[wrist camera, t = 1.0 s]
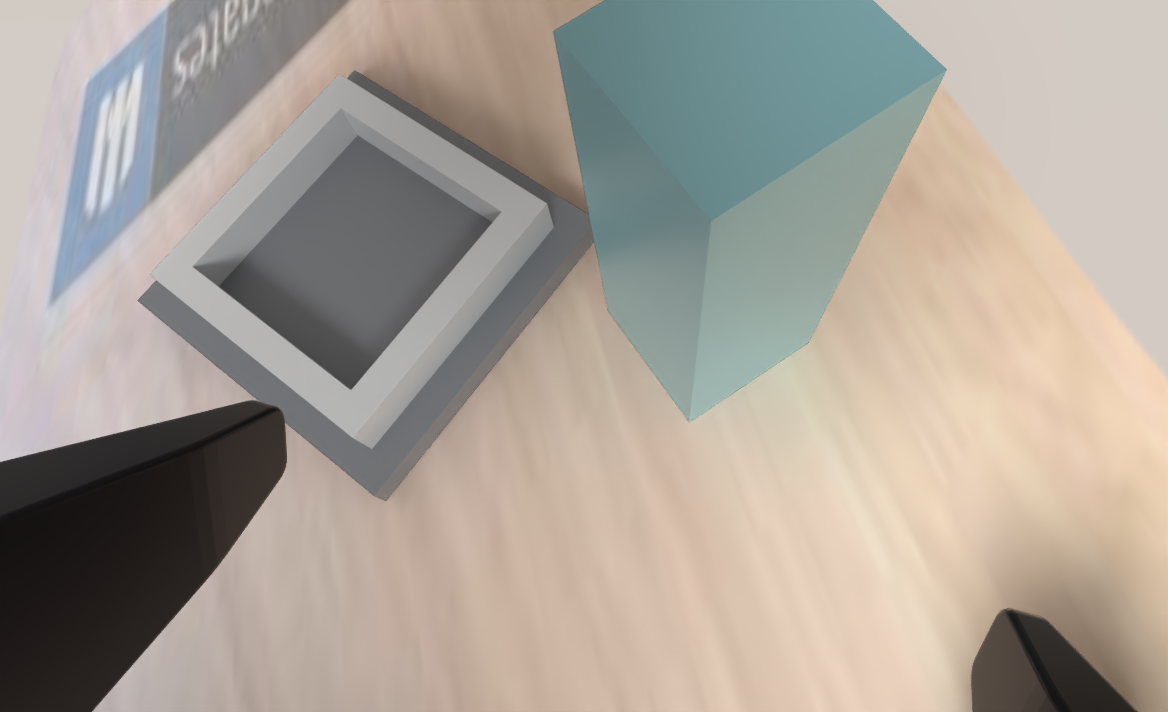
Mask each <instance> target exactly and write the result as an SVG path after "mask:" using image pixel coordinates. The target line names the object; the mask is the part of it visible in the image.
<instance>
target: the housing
mask: <svg viewBox="0 0 1168 712" xmlns="http://www.w3.org/2000/svg"><path fill="white" fill-rule="evenodd" d="M553 33H554V38H555V43H556V48H557V53H558V58H559V64H560V69H561V74H562V79H563V84H564V89H565V94H566V99H567V104H568V110H569V115H570V120H571V125H572V130H573V135H574V140H575V145H576V150H577V156H578V161H579V166H580V171H581V176H582V181H583V186H584V191H585V197H586V202H587V207H588V212H589V217H590V222H591V227H592V232H593V237H594V243H595V248H596V253H597V258H598V263H599V268H600V273H601V278H602V283H603V289H604V294H605V299H606V304H607V309H608V312H609V313H610V315H611V316H612V317H613V319H614V320H615V321H616V323H617V324H618V325H619V327H620V328H621V330H622V331H623V332H624V334H625V335H626V336H627V338H628V339H629V341H630V342H631V343H632V345H633V346H634V347H635V349H636V350H637V352H638V353H639V354H640V356H641V357H642V358H643V360H644V361H645V362H646V364H647V365H648V367H649V368H650V369H651V371H652V372H653V373H654V375H655V376H656V378H657V379H658V380H659V382H660V383H661V384H662V386H663V387H664V388H665V390H666V391H667V393H668V394H669V395H670V397H671V398H672V399H673V401H674V402H675V404H676V405H677V406H678V408H679V409H680V410H681V412H682V413H683V414H684V416H685V417H686V419H687V420H688V421H689V422H691V421H692V420H694V419H695V418H697V417H698V416H700V415H701V414H703V413H704V412H706V411H707V410H709V409H710V408H712V407H713V406H715V405H716V404H718V403H719V402H721V401H722V400H724V399H725V398H727V397H728V396H730V395H731V394H733V393H734V392H736V391H737V390H739V389H740V388H742V387H743V386H745V385H746V384H748V383H749V382H751V381H752V380H754V379H755V378H757V377H758V376H760V375H761V374H762V373H764V372H765V371H767V370H768V369H770V368H771V367H773V366H774V365H776V364H777V363H779V362H780V361H782V360H783V359H785V358H786V357H788V356H789V355H791V354H792V353H794V352H795V351H797V350H798V349H800V348H801V347H803V346H804V345H806V344H807V343H809V341H810V339H811V337H812V335H813V333H814V331H815V329H816V327H817V325H818V323H819V321H820V319H821V317H822V315H823V313H824V311H825V309H826V307H827V305H828V303H829V301H830V299H831V297H832V295H833V293H834V291H835V289H836V287H837V285H838V283H839V282H840V280H841V278H842V276H843V274H844V272H845V270H846V268H847V266H848V264H849V262H850V260H851V258H852V256H853V254H854V252H855V250H856V248H857V246H858V244H859V242H860V240H861V238H862V236H863V234H864V232H865V230H866V228H867V226H868V224H869V222H870V220H871V218H872V216H873V214H874V212H875V210H876V208H877V207H878V205H879V203H880V201H881V199H882V197H883V195H884V193H885V191H886V189H887V187H888V185H889V183H890V181H891V179H892V177H893V175H894V173H895V171H896V169H897V167H898V165H899V163H900V161H901V159H902V157H903V155H904V153H905V151H906V149H907V147H908V145H909V143H910V141H911V139H912V137H913V135H914V133H915V132H916V130H917V128H918V126H919V124H920V122H921V120H922V118H923V116H924V114H925V112H926V110H927V108H928V106H929V104H930V102H931V100H932V98H933V96H934V94H935V92H936V90H937V88H938V86H939V84H940V82H941V80H942V78H943V76H944V74H945V72H946V68H945V67H944V66H942V65H941V64H940V63H939V62H938V61H937V60H936V59H935V58H934V57H933V56H932V55H931V54H930V53H929V52H928V51H926V50H925V49H924V48H923V47H922V46H921V45H920V44H919V43H918V42H917V41H916V40H914V38H913V37H912V36H910V35H909V34H908V33H907V32H906V31H905V30H904V29H903V28H902V27H901V26H900V25H899V24H898V23H897V22H895V21H894V20H893V19H892V18H891V17H890V16H889V15H888V14H887V13H886V12H885V11H884V10H883V9H882V8H881V7H879V6H878V5H877V4H876V3H875V2H874V1H873V0H604V1H603V2H601V3H599V4H598V5H596V6H594V7H593V8H591V9H589V10H588V11H586V12H584V13H583V14H581V15H579V16H578V17H576V18H574V19H573V20H571V21H569V22H568V23H566V24H564V25H563V26H561V27H559V28H558V29H556V30H554V31H553Z"/></svg>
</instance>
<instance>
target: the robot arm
mask: <svg viewBox="0 0 1168 712" xmlns="http://www.w3.org/2000/svg"><path fill="white" fill-rule="evenodd" d="M286 463H287V448H286V432H285V418H284V414H283V412H282V410H281V409H280V408H278V407H277V406H273V405H269V404H266V403H262V402H259V401H251V400H250V401H245V402H241V403H237V404H233V405H229V406H225V407H221V408H217V409H213V410H209V411H205V412H201V413H197V414H193V415H189V416H185V417H181V418H177V419H173V420H169V421H164V422H160V423H156V424H152V425H148V426H144V427H140V428H136V429H132V430H128V431H124V432H120V433H116V434H112V435H108V436H104V437H100V438H96V439H92V440H88V441H84V442H80V443H75V444H71V445H67V446H63V447H59V448H55V449H51V450H47V451H43V452H39V453H35V454H31V455H27V456H23V457H19V458H15V459H11V460H7V461H3V462H0V712H92V711H93V710H94V709H95V708H96V706H97V705H98V704H99V703H100V702H101V701H102V700H103V698H104V697H105V696H106V695H107V694H108V693H109V692H110V690H111V689H112V688H113V687H114V686H115V685H116V684H117V682H118V681H119V680H120V679H121V678H122V677H123V675H124V674H125V673H126V672H127V671H128V670H129V669H130V667H131V666H132V665H133V664H134V663H135V662H136V661H137V659H138V658H139V657H140V656H141V655H142V654H143V652H144V651H145V650H146V649H147V648H148V647H149V646H150V644H151V643H152V642H153V641H154V640H155V639H156V638H157V636H158V635H159V634H160V633H161V632H162V631H163V630H164V628H165V627H166V626H167V625H168V624H169V623H170V621H171V620H172V619H173V618H174V617H175V616H176V615H177V613H178V612H179V611H180V610H181V609H182V608H183V607H184V605H185V604H186V603H187V602H188V601H189V600H190V599H191V597H192V596H193V595H194V594H195V593H196V592H197V590H198V589H199V588H200V587H201V586H202V585H203V584H204V582H205V581H206V580H207V579H208V578H209V576H210V575H211V574H212V573H213V572H214V570H215V569H216V568H217V567H218V565H219V564H220V563H221V561H222V560H223V559H224V557H225V556H226V555H227V553H228V552H229V551H230V549H231V548H232V547H233V545H234V544H235V542H236V541H237V539H238V538H239V537H240V535H241V534H242V532H243V531H244V530H245V528H246V527H247V525H248V524H249V522H250V521H251V520H252V518H253V517H254V515H255V514H256V513H257V511H258V510H259V508H260V507H261V505H262V504H263V503H264V501H265V500H266V498H267V497H268V496H269V494H270V493H271V491H272V490H273V488H274V487H275V486H276V484H277V483H278V481H279V480H280V478H281V477H282V475H283V473H284V471H285V468H286ZM971 689H972V710H973V712H1137V711H1136V710H1135V709H1134V708H1133V707H1132V706H1131V705H1130V704H1129V703H1128V702H1127V700H1126V699H1125V698H1124V697H1123V696H1122V695H1121V694H1120V693H1119V692H1118V691H1117V690H1116V689H1115V688H1114V687H1113V686H1112V685H1111V684H1110V683H1109V682H1108V681H1107V680H1106V679H1105V678H1104V677H1103V676H1102V675H1101V674H1100V673H1099V672H1098V671H1097V670H1096V669H1095V668H1094V667H1093V666H1092V665H1091V664H1090V663H1089V662H1088V661H1087V660H1086V659H1085V658H1084V657H1083V656H1082V655H1081V654H1080V653H1079V652H1078V651H1077V650H1076V649H1075V648H1074V647H1073V646H1072V645H1071V644H1070V643H1069V642H1068V641H1067V640H1066V639H1065V638H1064V637H1063V636H1062V635H1061V634H1060V633H1059V632H1058V631H1057V630H1056V629H1055V628H1054V627H1053V626H1052V625H1051V624H1050V623H1049V622H1048V621H1047V620H1046V619H1044V618H1042V617H1040V616H1037V615H1033V614H1030V613H1026V612H1022V611H1019V610H1015V609H1011V608H1007V609H1003V610H1001V611H1000V612H999V613H998V615H997V616H996V618H995V620H994V622H993V624H992V626H991V628H990V630H989V632H988V634H987V636H986V638H985V640H984V641H983V643H982V645H981V647H980V649H979V651H978V653H977V655H976V657H975V660H974V663H973V667H972V674H971Z"/></svg>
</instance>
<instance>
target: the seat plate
mask: <svg viewBox="0 0 1168 712" xmlns="http://www.w3.org/2000/svg"><path fill="white" fill-rule="evenodd" d="M593 242H594V237H593V232H592V227H591V222H590V217H589V214H587V213H585V212H584V211H582V210H580V209H579V208H577V207H576V206H574V205H572V204H571V203H569V202H567V201H566V200H564V199H563V198H561V197H559V196H558V195H556V194H555V193H553V192H551V191H550V190H548V189H546V188H545V187H543V186H542V185H540V184H538V183H537V182H535V181H533V180H532V179H530V178H529V177H527V176H525V175H524V174H522V173H520V172H519V171H517V170H516V169H514V168H512V167H511V166H509V165H508V164H506V163H504V162H503V161H501V160H499V159H498V158H496V157H495V156H493V155H491V154H490V153H488V152H486V151H485V150H483V149H482V148H480V147H478V146H477V145H475V144H474V143H472V142H470V141H469V140H467V139H465V138H464V137H462V136H461V135H459V134H457V133H456V132H454V131H452V130H451V129H449V128H448V127H446V126H444V125H443V124H441V123H440V122H438V121H436V120H435V119H433V118H431V117H430V116H428V115H427V114H425V113H423V112H422V111H420V110H418V109H417V108H415V107H414V106H412V105H410V104H409V103H407V102H406V101H404V100H402V99H401V98H399V97H397V96H396V95H394V94H393V93H391V92H389V91H388V90H386V89H384V88H383V87H381V86H380V85H378V84H376V83H375V82H373V81H372V80H370V79H368V78H367V77H365V76H363V75H362V74H360V73H359V72H357V71H355V70H354V72H353V73H352V74H351V75H350V76H349V77H348V78H345V77H344V76H342V75H340V74H339V75H338V76H337V77H336V78H335V79H334V80H333V81H332V82H331V83H330V84H329V85H328V86H327V87H326V88H325V89H324V90H323V91H322V92H321V94H320V95H319V96H318V97H317V98H316V99H315V100H314V101H313V102H312V103H311V104H310V105H309V106H308V107H307V108H306V109H305V110H304V111H303V113H302V114H301V115H300V116H299V117H298V118H297V119H296V120H295V121H294V122H293V123H292V124H291V125H290V126H289V127H288V128H287V129H286V130H285V131H284V133H283V134H282V135H281V136H280V137H279V138H278V139H277V140H276V141H275V142H274V143H273V144H272V145H271V146H270V147H269V148H268V149H267V150H266V152H265V153H264V154H263V155H262V156H261V157H260V158H259V159H258V160H257V161H256V162H255V163H254V164H253V165H252V166H251V167H250V168H249V169H248V170H247V172H246V173H245V174H244V175H243V176H242V177H241V178H240V179H239V180H238V181H237V182H236V183H235V184H234V185H233V186H232V187H231V188H230V189H229V191H228V192H227V193H226V194H225V195H224V196H223V197H222V198H221V199H220V200H219V201H218V202H217V203H216V204H215V205H214V206H213V207H212V208H211V209H210V211H209V212H208V213H207V214H206V215H205V216H204V217H203V218H202V219H201V220H200V221H199V222H198V223H197V224H196V225H195V226H194V227H193V228H192V230H191V231H190V232H189V233H188V234H187V235H186V236H185V237H184V238H183V239H182V240H181V241H180V242H179V243H178V244H177V245H176V246H175V247H174V248H173V250H172V251H171V252H170V253H169V254H168V255H167V256H166V257H165V258H164V259H163V260H162V261H161V262H160V263H159V264H158V265H157V266H156V267H155V269H154V270H153V271H152V272H151V273H150V274H149V275H151V276H152V277H153V278H154V279H156V281H155V282H154V283H153V284H152V285H151V287H150V288H149V289H148V290H147V291H146V292H145V293H144V294H143V295H142V296H141V297H140V298H139V299H138V300H137V301H138V302H140V303H141V304H142V305H143V306H144V307H146V308H147V309H148V310H149V311H151V312H152V313H153V314H154V315H155V316H157V317H158V318H159V319H160V320H161V321H163V322H164V323H165V324H166V325H167V326H169V327H170V328H171V329H172V330H174V331H175V332H176V333H177V334H178V335H180V336H181V337H182V338H183V339H184V340H186V341H187V342H188V343H189V344H191V345H192V346H193V347H194V348H195V349H197V350H198V351H199V352H200V353H201V354H203V355H204V356H205V357H206V358H208V359H209V360H210V361H211V362H212V363H214V364H215V365H216V366H217V367H218V368H220V369H221V370H222V371H223V372H224V373H226V374H227V375H228V376H229V377H231V378H232V379H233V380H234V381H235V382H237V383H238V384H239V385H240V386H241V387H243V388H244V389H245V390H246V391H248V392H249V393H250V394H251V395H252V396H254V397H255V398H256V399H257V400H258V401H260V402H262V403H266V404H269V405H273V406H277V407H278V408H280V409H281V410H282V412H283V414H284V418H285V423H286V424H288V425H289V426H290V427H291V428H292V429H294V430H295V431H296V432H297V433H298V434H300V435H301V436H302V437H303V438H305V439H306V440H307V441H308V442H309V443H311V444H312V445H313V446H314V447H315V448H317V449H318V450H319V451H320V452H321V453H323V454H324V455H325V456H326V457H328V458H329V459H330V460H331V461H332V462H334V463H335V464H336V465H337V466H338V467H340V468H341V469H342V470H343V471H345V472H346V473H347V474H348V475H349V476H351V477H352V478H353V479H354V480H355V481H357V482H358V483H359V484H360V485H362V486H363V487H364V488H365V489H366V490H368V491H369V492H370V493H371V494H372V495H374V496H376V497H378V498H380V499H383V500H385V501H386V500H387V499H388V498H389V497H390V495H391V494H392V493H393V492H394V490H395V489H396V488H397V487H398V485H399V484H400V483H401V482H402V480H403V479H404V478H405V477H406V475H407V474H408V473H409V472H410V470H411V469H412V468H413V467H414V465H415V464H416V463H417V462H418V460H419V459H420V458H421V457H422V455H423V454H424V453H425V452H426V450H427V449H428V448H429V447H430V445H431V444H432V443H433V442H434V440H435V439H436V438H437V437H438V435H439V434H440V433H441V432H442V430H443V429H444V428H445V427H446V425H447V424H448V423H449V422H450V420H451V419H452V418H453V417H454V415H455V414H456V413H457V412H458V410H459V409H460V408H461V407H462V405H463V404H464V403H465V402H466V400H467V399H468V398H469V397H470V395H471V394H472V393H473V392H474V390H475V389H476V388H477V387H478V385H479V384H480V383H481V382H482V380H483V379H484V378H485V377H486V375H487V374H488V373H489V372H490V370H491V369H492V368H493V367H494V365H495V364H496V363H497V362H498V360H499V359H500V358H501V357H502V355H503V354H504V353H505V352H506V350H507V349H508V348H509V347H510V346H511V344H512V343H513V342H514V341H515V339H516V338H517V337H518V336H519V334H520V333H521V332H522V331H523V329H524V328H525V327H526V326H527V324H528V323H529V322H530V321H531V319H532V318H533V317H534V316H535V314H536V313H537V312H538V311H539V309H540V308H541V307H542V306H543V304H544V303H545V302H546V301H547V299H548V298H549V297H550V296H551V294H552V293H553V292H554V291H555V289H556V288H557V287H558V286H559V284H560V283H561V282H562V281H563V279H564V278H565V277H566V276H567V274H568V273H569V272H570V271H571V269H572V268H573V267H574V266H575V264H576V263H577V262H578V261H579V259H580V258H581V257H582V256H583V254H584V253H585V252H586V251H587V249H588V248H589V247H590V246H591V244H592V243H593Z"/></svg>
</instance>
